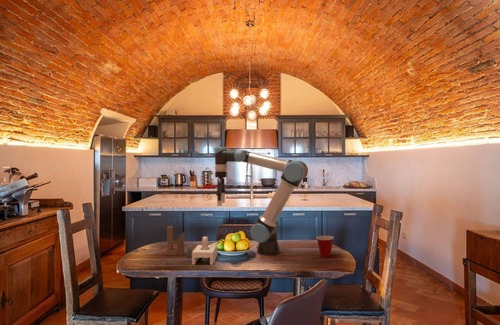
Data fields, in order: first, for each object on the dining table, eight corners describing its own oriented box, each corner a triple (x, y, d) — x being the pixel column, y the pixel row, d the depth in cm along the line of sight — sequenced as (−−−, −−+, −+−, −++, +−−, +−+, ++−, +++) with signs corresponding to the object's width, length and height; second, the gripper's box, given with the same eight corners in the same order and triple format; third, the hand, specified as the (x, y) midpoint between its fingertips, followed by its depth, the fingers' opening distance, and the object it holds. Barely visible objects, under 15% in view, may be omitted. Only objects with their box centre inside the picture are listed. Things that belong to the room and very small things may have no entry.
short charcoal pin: (193, 255, 201) (193, 244, 201) (191, 257, 198) (191, 246, 197) (188, 255, 202) (188, 244, 201) (186, 257, 198) (186, 245, 198)
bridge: (217, 256, 200) (217, 245, 200) (212, 264, 184) (212, 252, 184) (198, 256, 200) (198, 244, 200) (192, 264, 184) (191, 252, 184)
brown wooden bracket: (182, 255, 201) (182, 227, 201) (166, 255, 202) (166, 227, 202) (184, 254, 205) (184, 226, 204) (168, 253, 205) (167, 225, 205)
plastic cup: (320, 252, 206) (320, 234, 206) (336, 255, 200) (336, 236, 200) (313, 256, 198) (313, 237, 197) (329, 259, 191) (329, 239, 191)
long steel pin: (208, 259, 194) (208, 236, 194) (207, 261, 190) (207, 237, 190) (202, 259, 194) (202, 236, 194) (201, 261, 190) (201, 237, 190)
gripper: (218, 170, 217) (218, 201, 217) (211, 171, 192) (211, 207, 192) (229, 170, 216) (229, 201, 216) (224, 171, 191) (224, 207, 192)
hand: (221, 204), depth 204 cm, fingers open, 13 cm apart
